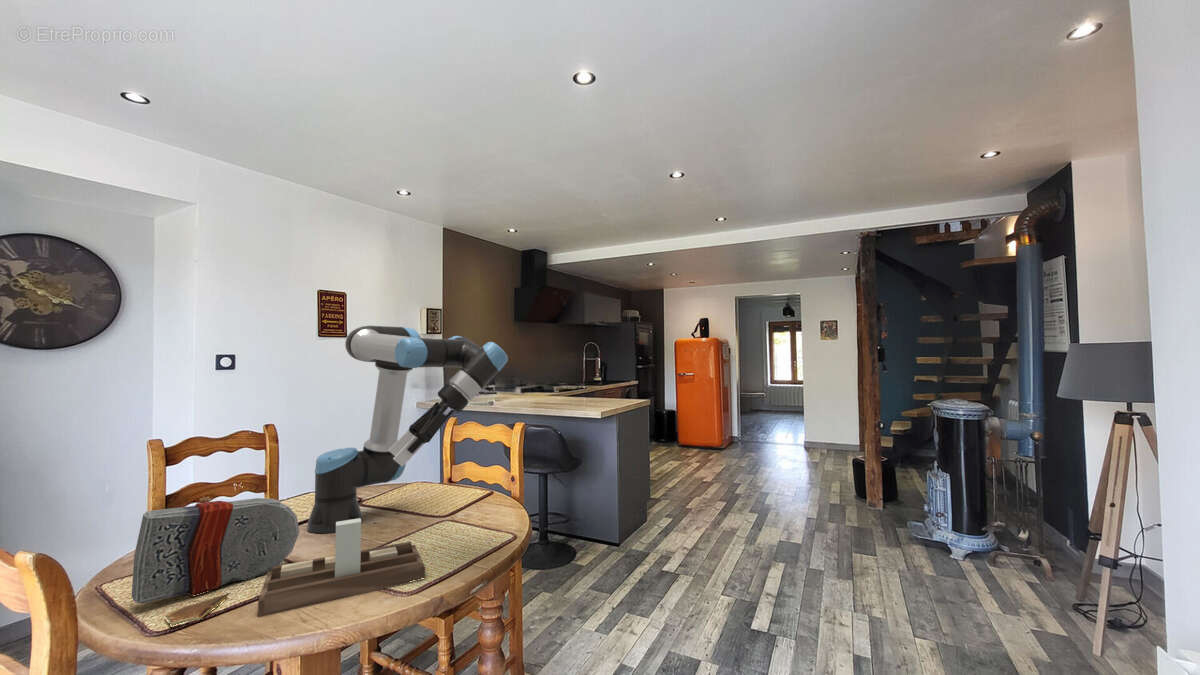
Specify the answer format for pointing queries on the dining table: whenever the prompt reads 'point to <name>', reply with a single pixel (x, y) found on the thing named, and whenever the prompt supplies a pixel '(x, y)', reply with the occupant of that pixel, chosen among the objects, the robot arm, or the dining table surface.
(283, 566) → the birch offcut
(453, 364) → the robot arm
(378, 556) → the birch offcut
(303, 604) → the walnut rack
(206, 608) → the shard
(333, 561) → the birch offcut
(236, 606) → the dining table surface
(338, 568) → the tall sheet
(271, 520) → the decorative stone tablet
